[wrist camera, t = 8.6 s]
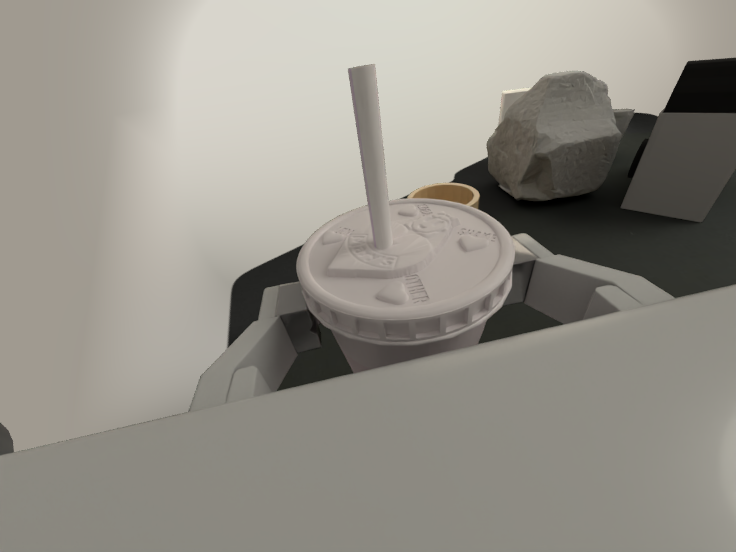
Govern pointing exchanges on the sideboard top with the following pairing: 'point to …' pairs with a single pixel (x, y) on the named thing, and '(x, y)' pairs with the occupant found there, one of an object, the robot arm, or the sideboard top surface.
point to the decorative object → (688, 145)
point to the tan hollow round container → (449, 193)
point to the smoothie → (402, 263)
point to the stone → (555, 139)
